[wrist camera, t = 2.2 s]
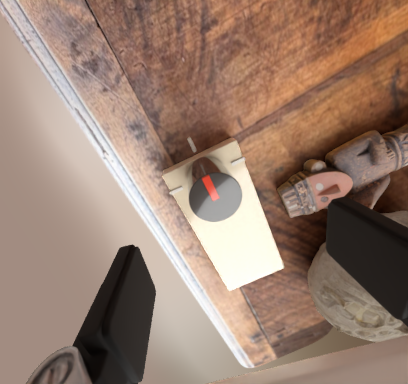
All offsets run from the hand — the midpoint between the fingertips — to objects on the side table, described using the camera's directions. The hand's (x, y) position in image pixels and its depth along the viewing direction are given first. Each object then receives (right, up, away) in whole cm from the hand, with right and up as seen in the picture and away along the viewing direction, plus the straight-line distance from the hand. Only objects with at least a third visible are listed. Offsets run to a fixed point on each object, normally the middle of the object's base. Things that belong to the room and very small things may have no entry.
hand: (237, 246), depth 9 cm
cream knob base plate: (+1, 0, +14) cm, 14 cm away
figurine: (+16, +6, +13) cm, 22 cm away
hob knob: (-1, +4, +10) cm, 11 cm away
